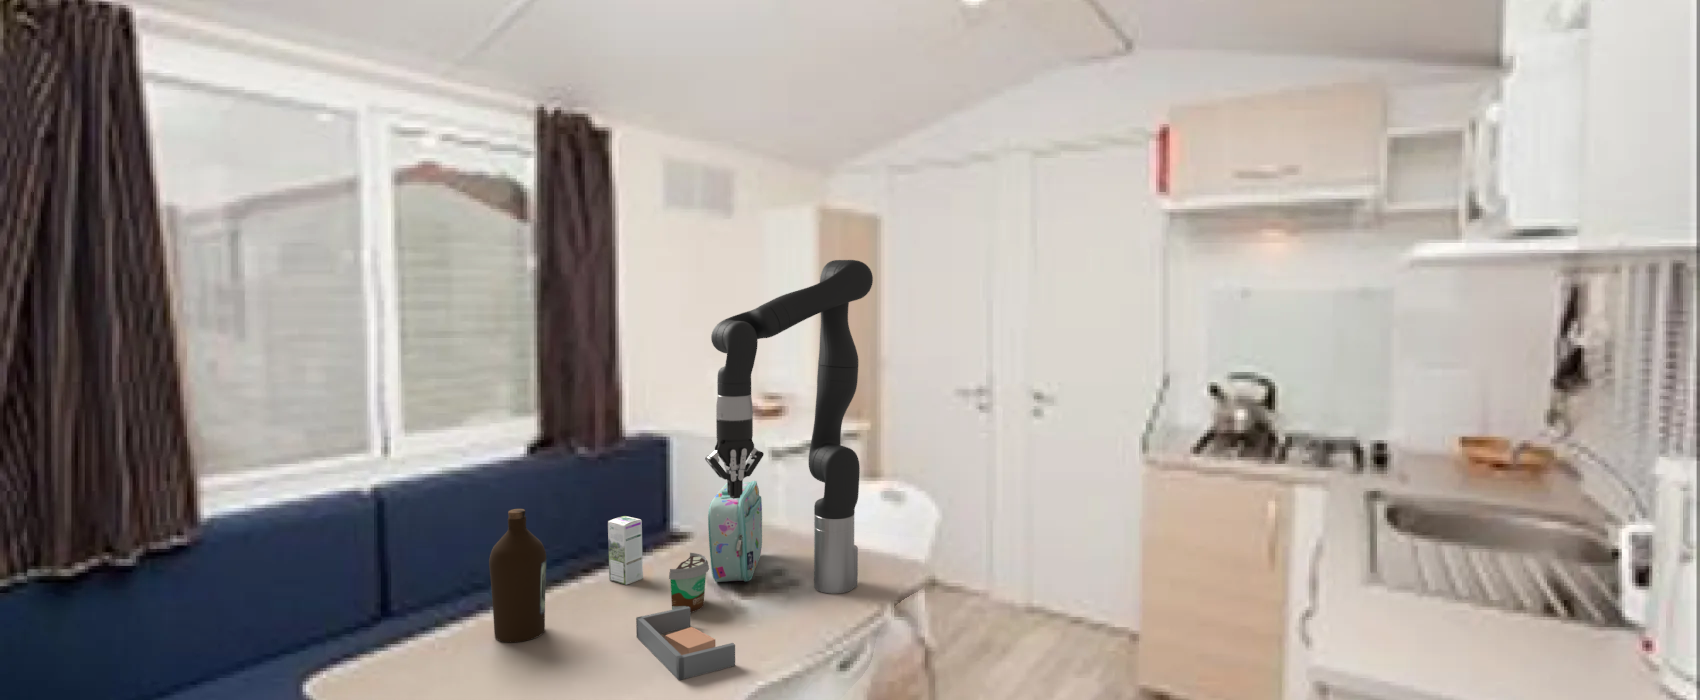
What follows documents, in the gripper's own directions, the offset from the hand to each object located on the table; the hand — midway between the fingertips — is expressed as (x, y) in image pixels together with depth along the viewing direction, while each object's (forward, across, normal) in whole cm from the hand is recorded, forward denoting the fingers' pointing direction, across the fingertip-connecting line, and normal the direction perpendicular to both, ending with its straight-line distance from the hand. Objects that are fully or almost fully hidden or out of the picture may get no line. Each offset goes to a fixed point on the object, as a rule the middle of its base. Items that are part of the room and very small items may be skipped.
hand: (734, 497), depth 184 cm
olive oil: (+25, +41, -13) cm, 50 cm away
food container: (+25, +6, -8) cm, 27 cm away
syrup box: (+25, +13, -32) cm, 43 cm away
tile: (+25, +15, +12) cm, 32 cm away
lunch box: (+25, -12, -24) cm, 37 cm away
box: (+25, +16, +12) cm, 32 cm away
